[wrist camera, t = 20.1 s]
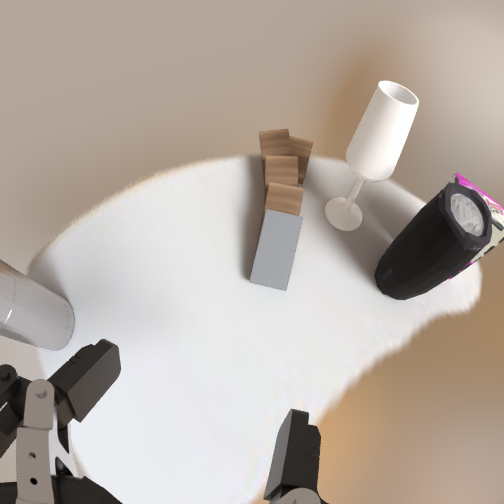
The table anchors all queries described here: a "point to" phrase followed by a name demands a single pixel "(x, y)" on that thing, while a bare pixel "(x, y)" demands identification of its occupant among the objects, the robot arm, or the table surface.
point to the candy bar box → (500, 218)
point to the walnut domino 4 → (301, 155)
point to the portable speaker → (435, 243)
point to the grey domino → (276, 249)
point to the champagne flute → (374, 148)
